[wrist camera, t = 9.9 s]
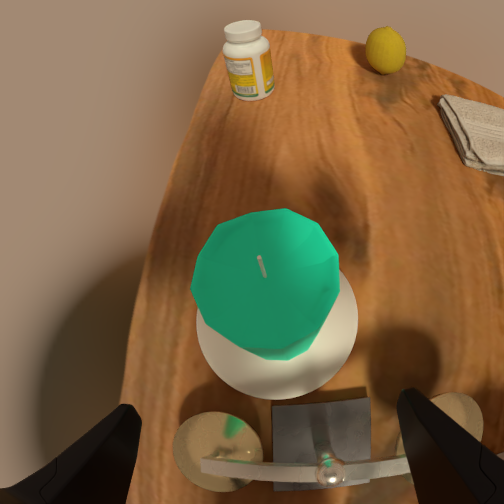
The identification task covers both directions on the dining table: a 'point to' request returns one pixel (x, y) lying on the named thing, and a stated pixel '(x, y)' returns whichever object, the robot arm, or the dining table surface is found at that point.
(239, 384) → the dish
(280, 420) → the balance
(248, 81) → the supplement bottle
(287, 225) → the candle
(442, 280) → the dining table surface
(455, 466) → the robot arm
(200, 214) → the dining table surface
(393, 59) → the lemon
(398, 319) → the dining table surface
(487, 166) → the washcloth
